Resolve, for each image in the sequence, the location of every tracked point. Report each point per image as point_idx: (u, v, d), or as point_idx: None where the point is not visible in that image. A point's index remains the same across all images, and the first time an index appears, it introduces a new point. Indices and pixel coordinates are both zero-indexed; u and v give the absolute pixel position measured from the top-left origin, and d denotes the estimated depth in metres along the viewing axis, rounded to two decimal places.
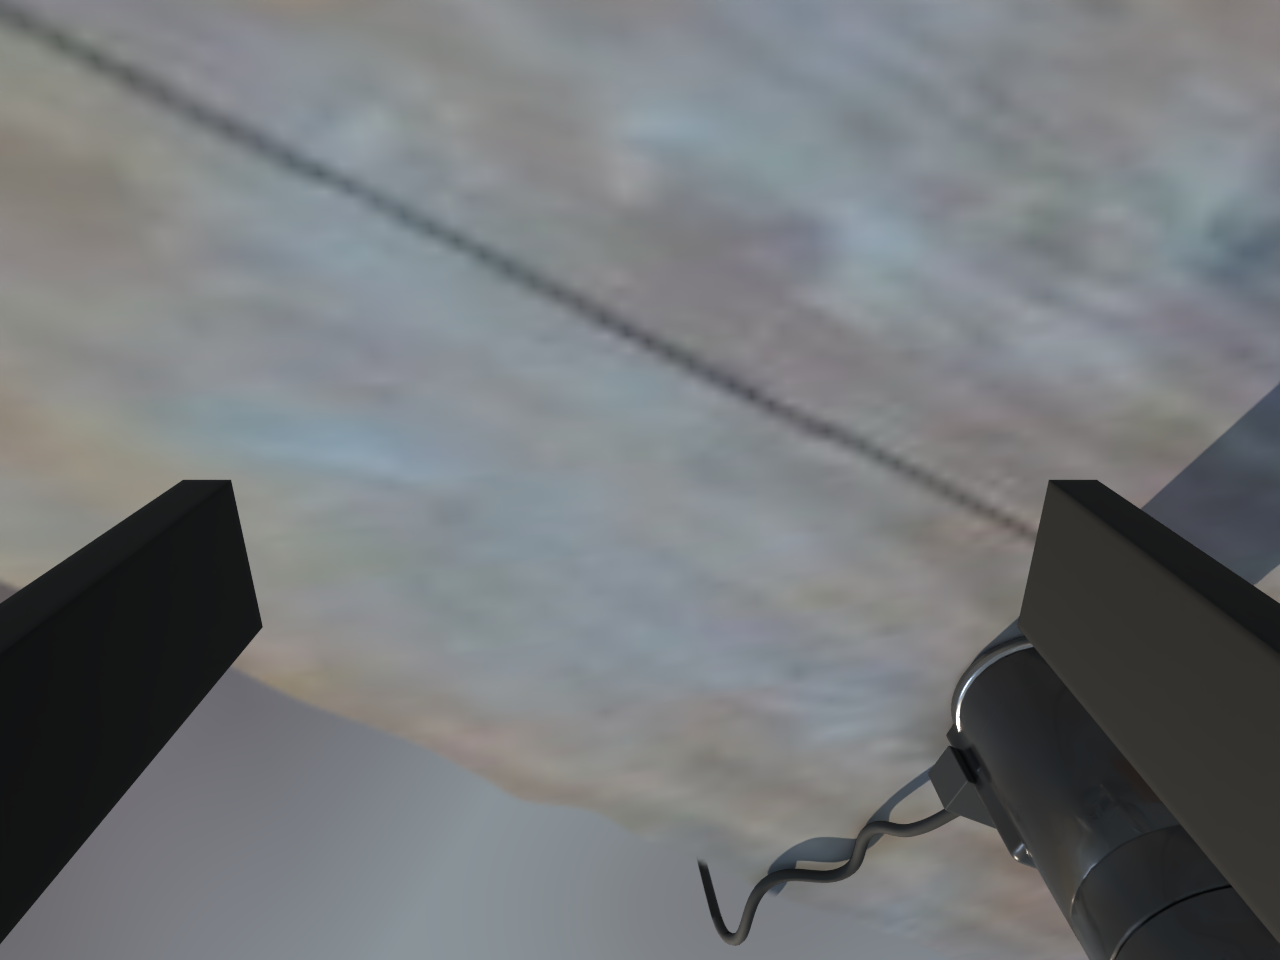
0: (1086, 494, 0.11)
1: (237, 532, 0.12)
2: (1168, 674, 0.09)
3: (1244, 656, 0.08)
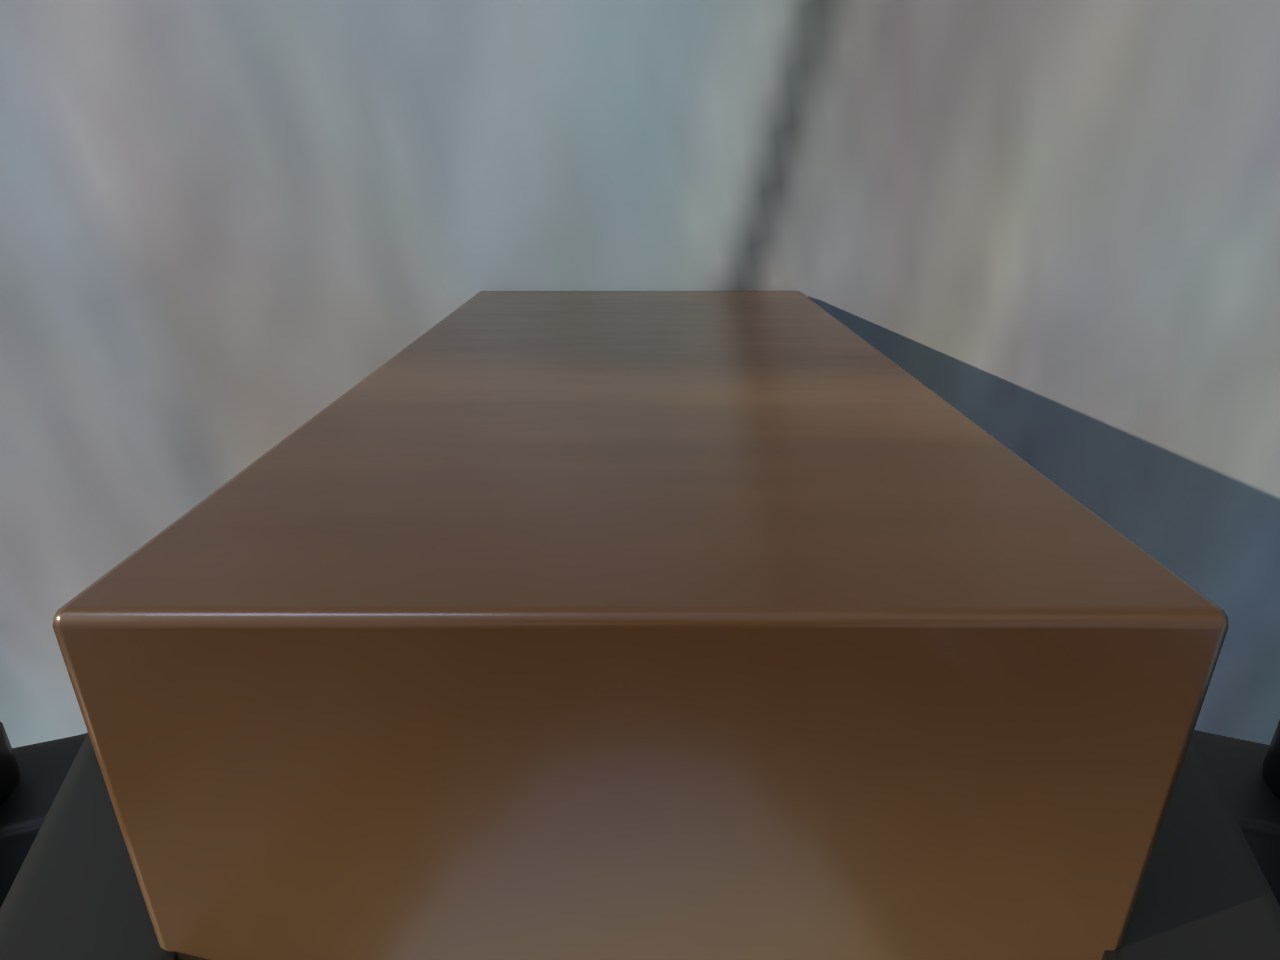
0: None
1: None
2: None
3: None
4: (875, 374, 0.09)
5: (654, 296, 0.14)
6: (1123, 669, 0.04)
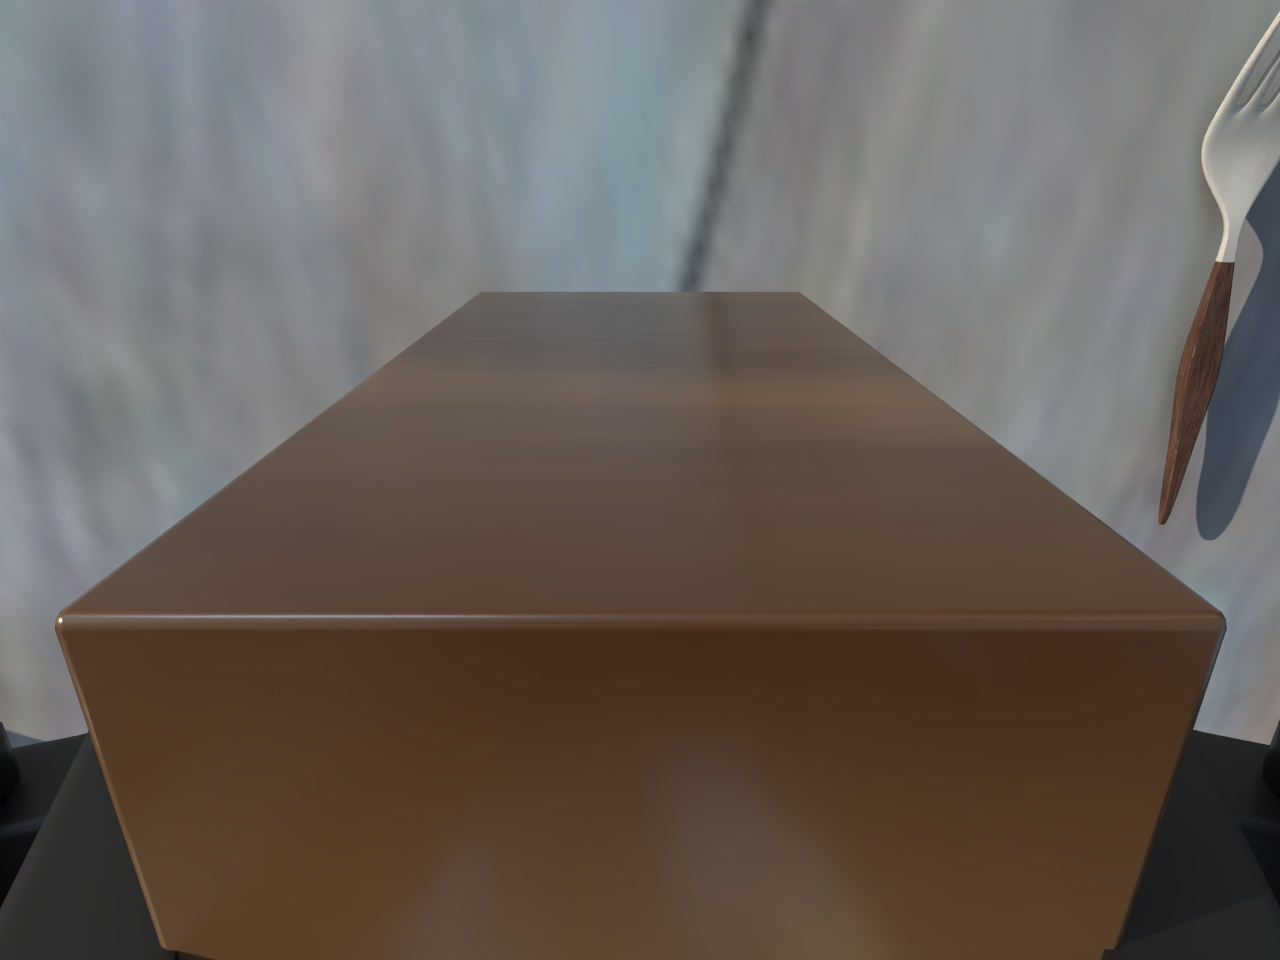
0: None
1: None
2: None
3: None
4: (875, 375, 0.09)
5: (654, 297, 0.14)
6: (1123, 672, 0.04)
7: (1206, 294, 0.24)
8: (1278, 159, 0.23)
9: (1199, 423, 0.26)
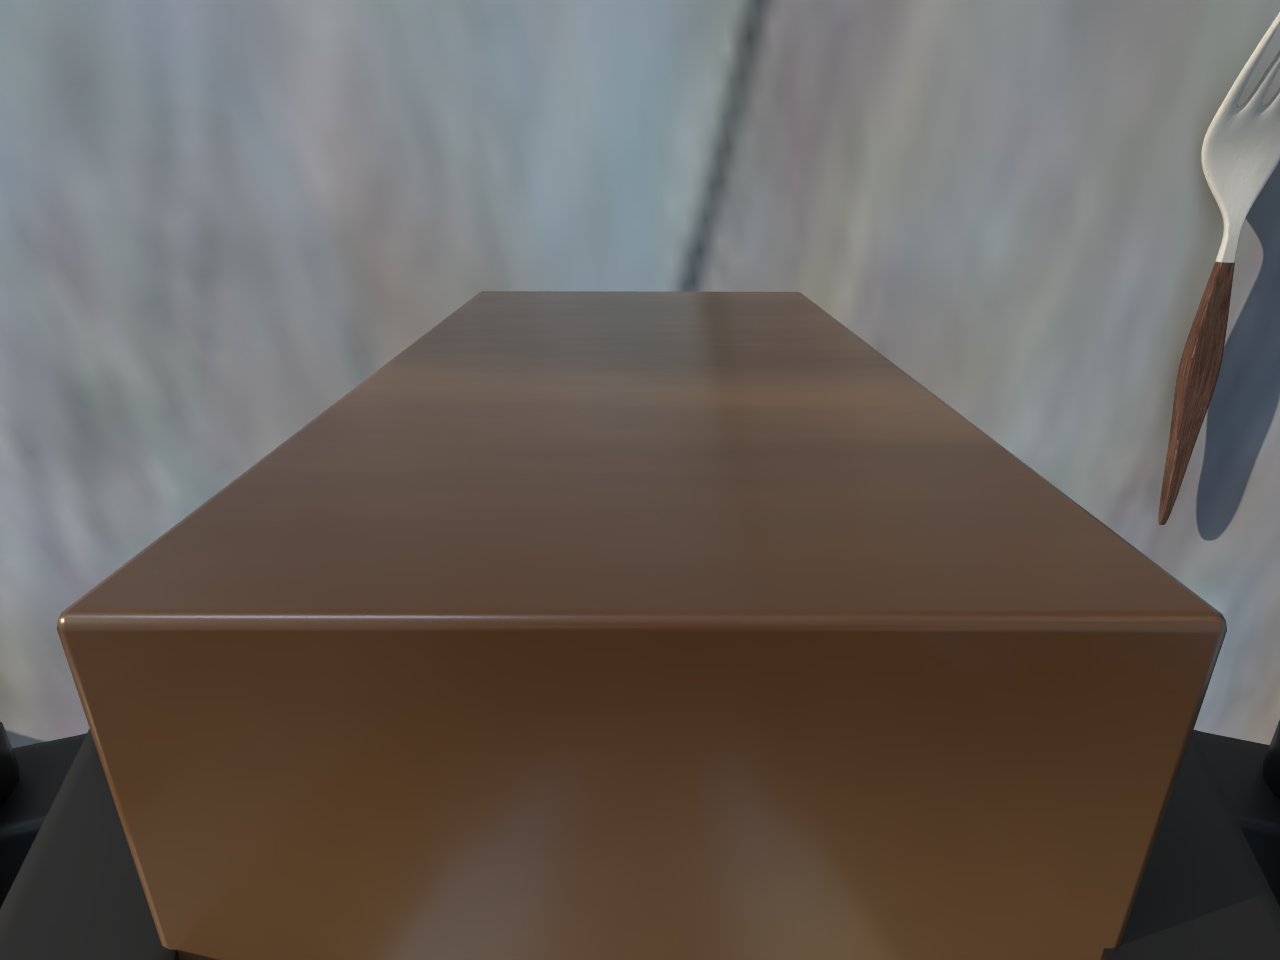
0: None
1: None
2: None
3: None
4: (875, 376, 0.09)
5: (654, 297, 0.14)
6: (1122, 674, 0.04)
7: (1206, 295, 0.24)
8: (1278, 159, 0.23)
9: (1199, 423, 0.26)
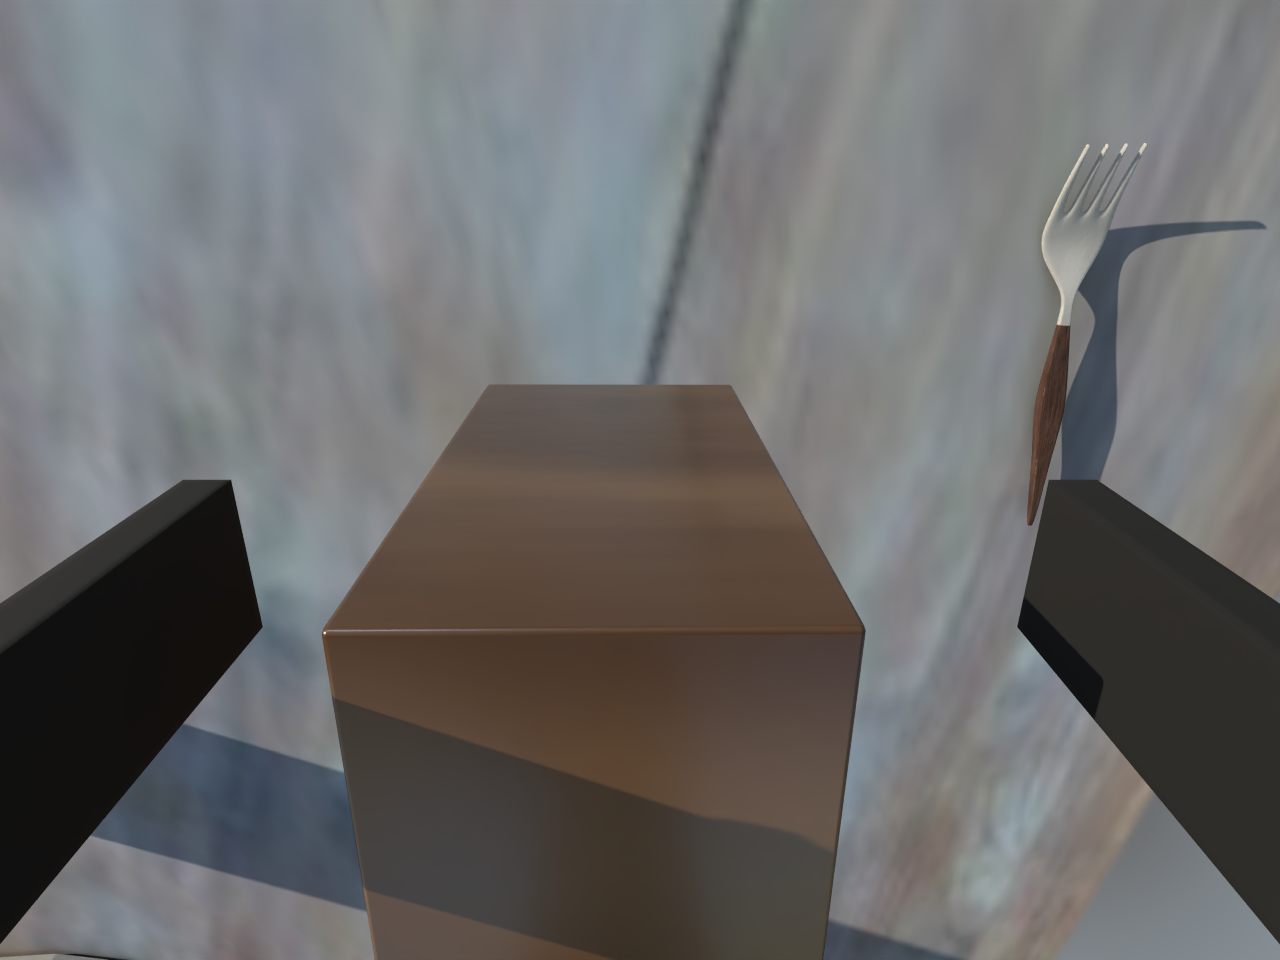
0: (1086, 494, 0.11)
1: (236, 532, 0.12)
2: (1168, 674, 0.09)
3: (1244, 656, 0.08)
4: (756, 473, 0.14)
5: (620, 391, 0.19)
6: (820, 653, 0.09)
7: (1051, 349, 0.32)
8: (1098, 250, 0.31)
9: (1052, 446, 0.33)
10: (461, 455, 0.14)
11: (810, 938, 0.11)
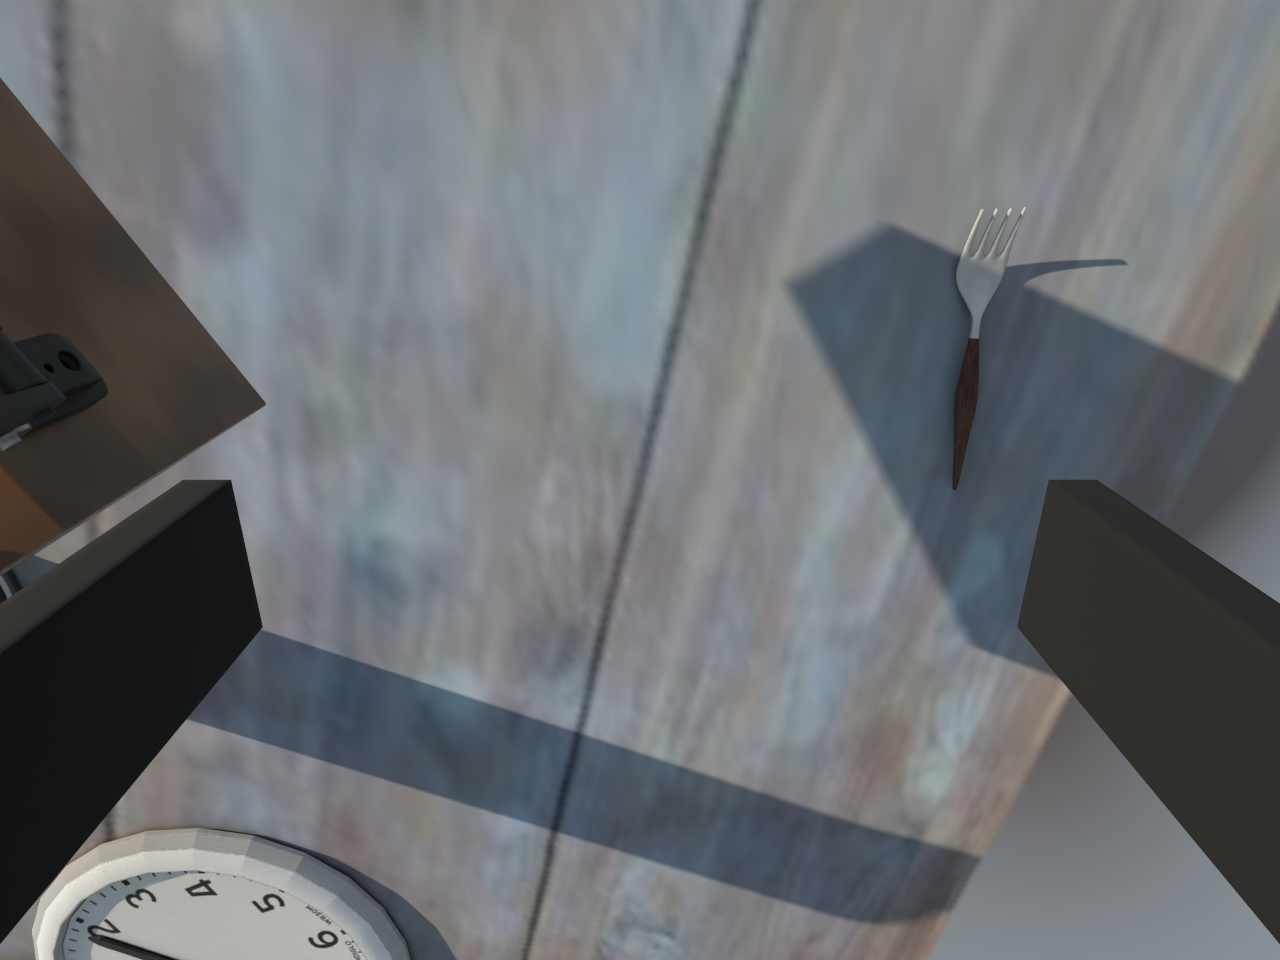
0: (1086, 494, 0.12)
1: (236, 532, 0.12)
2: (1168, 674, 0.09)
3: (1244, 656, 0.08)
4: None
5: None
6: None
7: (965, 356, 0.43)
8: (998, 282, 0.41)
9: (969, 429, 0.44)
10: None
11: None
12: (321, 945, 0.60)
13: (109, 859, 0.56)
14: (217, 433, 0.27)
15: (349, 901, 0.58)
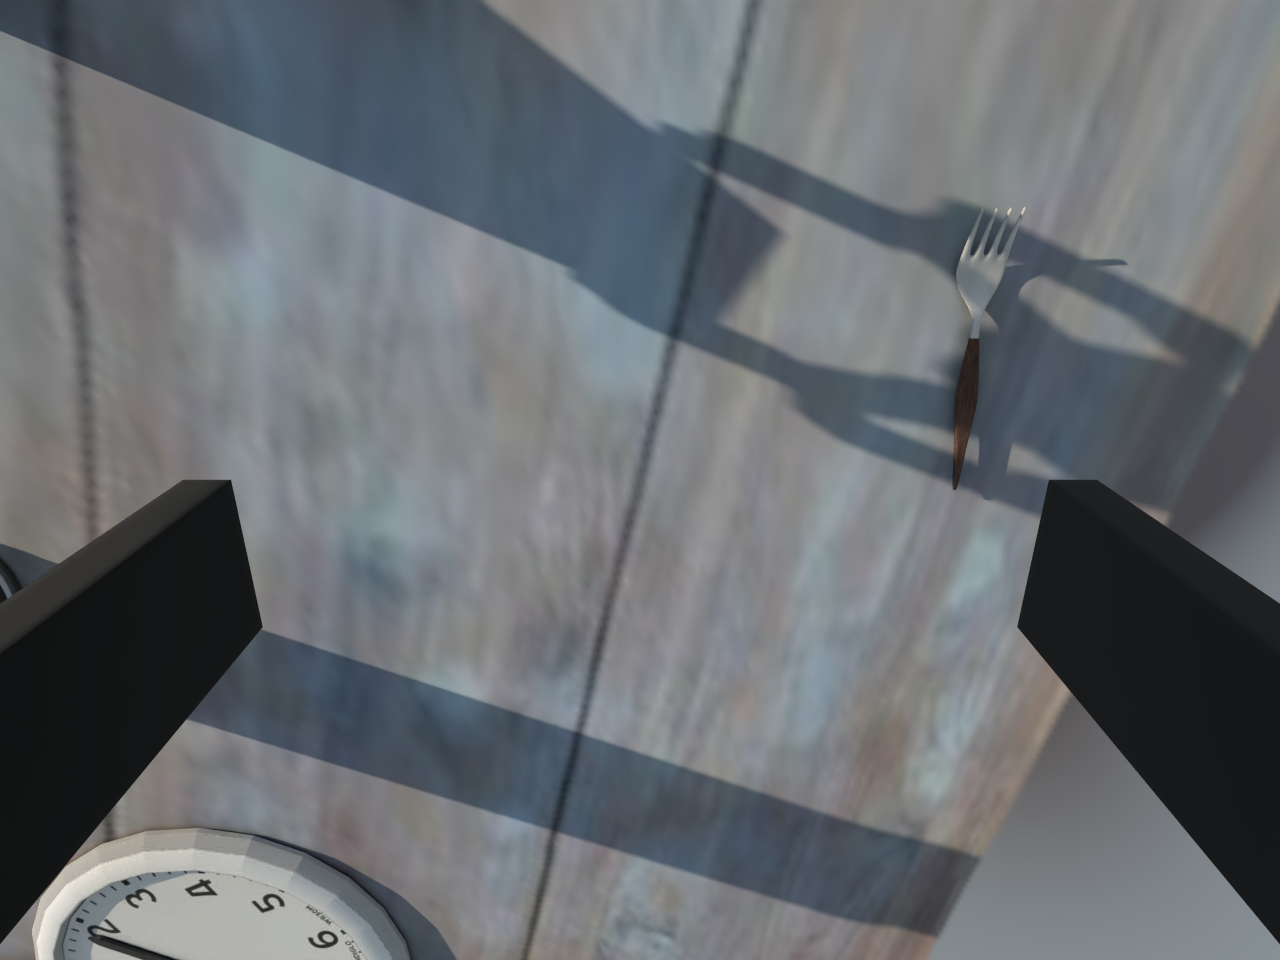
0: (1086, 494, 0.12)
1: (236, 532, 0.12)
2: (1168, 674, 0.09)
3: (1244, 656, 0.08)
4: None
5: None
6: None
7: (965, 356, 0.43)
8: (998, 282, 0.41)
9: (969, 429, 0.44)
10: None
11: None
12: (321, 945, 0.60)
13: (109, 859, 0.56)
14: None
15: (349, 901, 0.58)
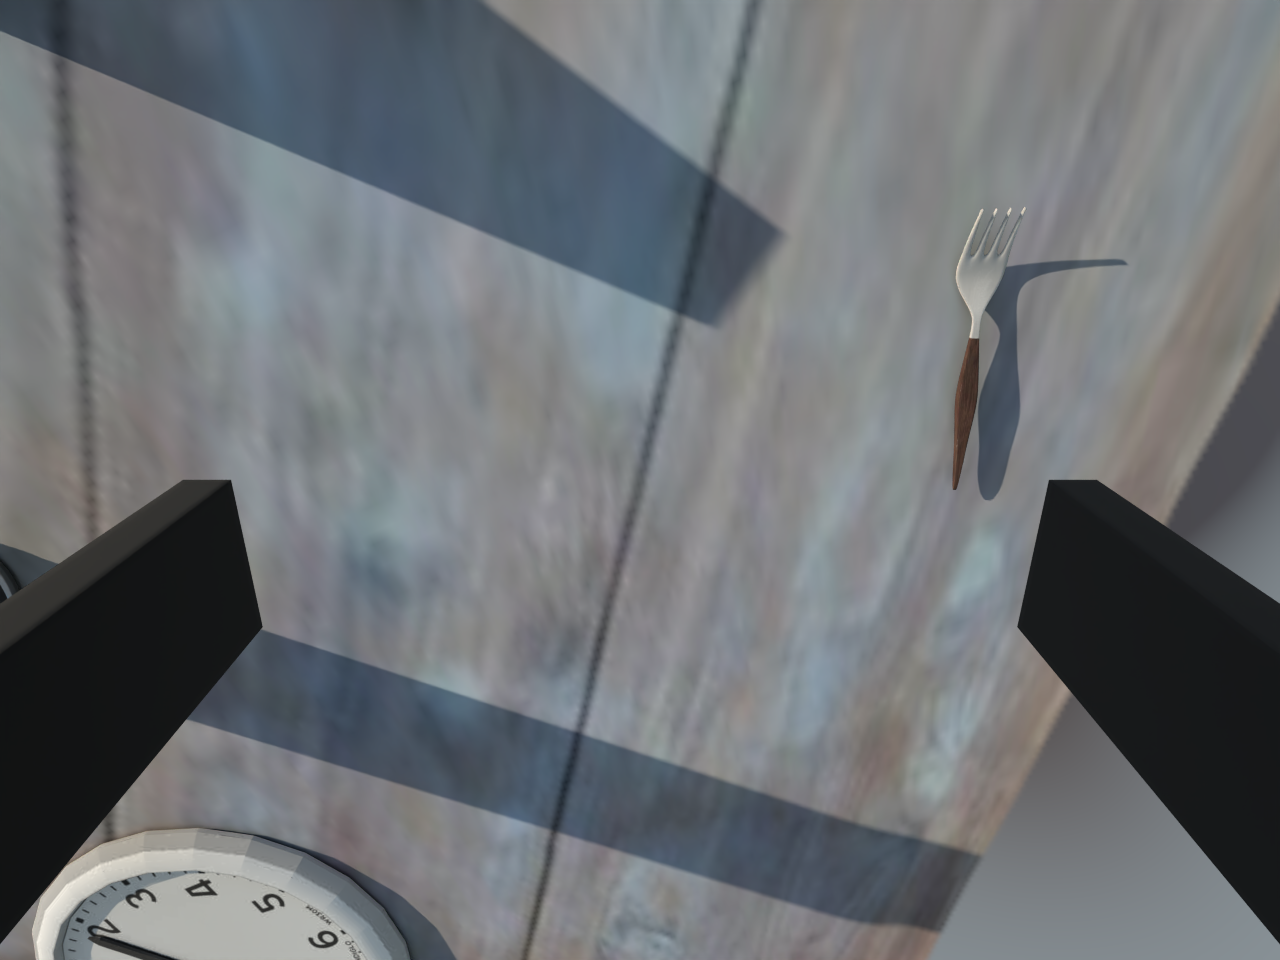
0: (1086, 494, 0.12)
1: (236, 532, 0.12)
2: (1168, 674, 0.09)
3: (1244, 656, 0.08)
4: None
5: None
6: None
7: (965, 356, 0.43)
8: (998, 282, 0.41)
9: (969, 429, 0.44)
10: None
11: None
12: (321, 945, 0.60)
13: (109, 859, 0.56)
14: None
15: (349, 901, 0.58)
